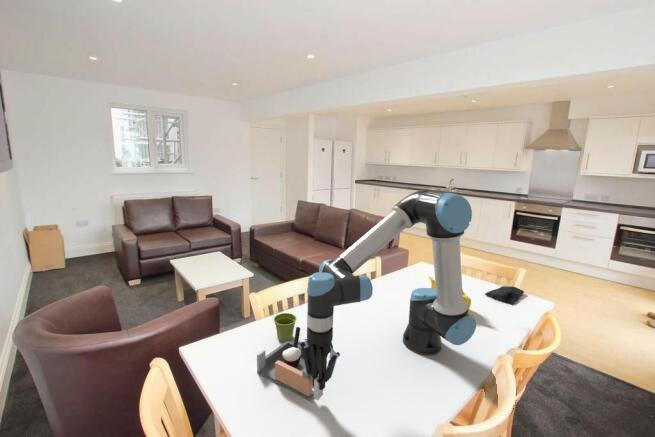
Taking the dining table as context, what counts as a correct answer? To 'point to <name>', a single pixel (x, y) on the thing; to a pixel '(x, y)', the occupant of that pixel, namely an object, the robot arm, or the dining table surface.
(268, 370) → the box
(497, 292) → the dark slate chunk
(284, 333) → the plant pot
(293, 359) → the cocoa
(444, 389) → the dining table surface
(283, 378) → the cover
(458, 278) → the robot arm
